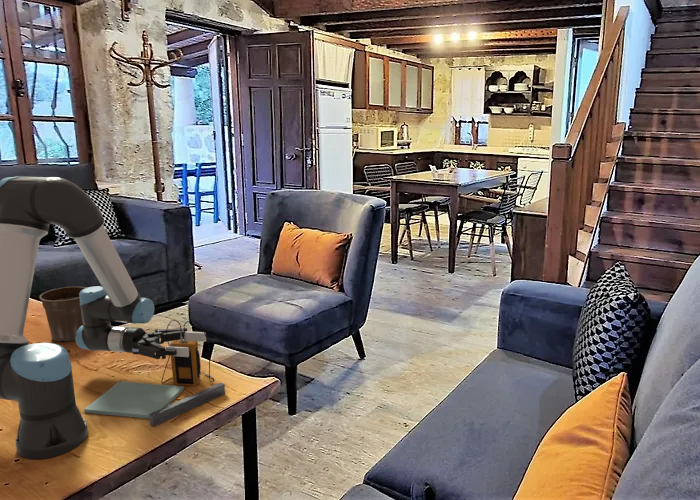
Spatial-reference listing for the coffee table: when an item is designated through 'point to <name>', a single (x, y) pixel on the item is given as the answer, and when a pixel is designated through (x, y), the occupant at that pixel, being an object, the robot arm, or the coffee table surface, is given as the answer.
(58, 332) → the plant pot
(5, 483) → the coffee table surface
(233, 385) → the coffee table surface
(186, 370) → the corded orange upright block
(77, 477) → the coffee table surface
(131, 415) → the plate
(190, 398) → the guide rail
